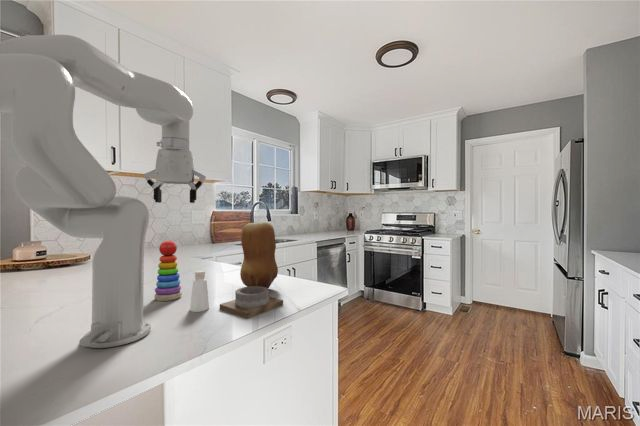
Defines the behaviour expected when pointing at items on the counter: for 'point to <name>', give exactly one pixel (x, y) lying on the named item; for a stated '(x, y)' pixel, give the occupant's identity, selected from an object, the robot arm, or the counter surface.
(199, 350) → the counter surface
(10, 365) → the counter surface
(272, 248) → the butternut squash
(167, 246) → the stacking toy
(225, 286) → the counter surface
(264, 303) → the shaft housing
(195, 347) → the counter surface
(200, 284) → the pepper shaker
